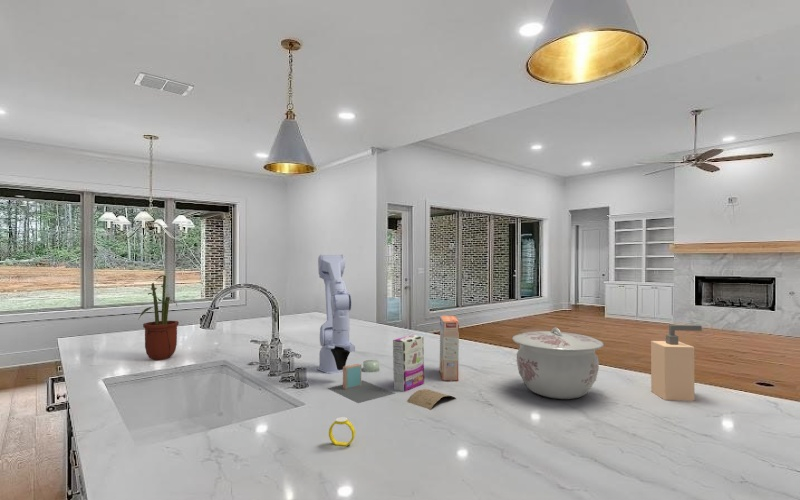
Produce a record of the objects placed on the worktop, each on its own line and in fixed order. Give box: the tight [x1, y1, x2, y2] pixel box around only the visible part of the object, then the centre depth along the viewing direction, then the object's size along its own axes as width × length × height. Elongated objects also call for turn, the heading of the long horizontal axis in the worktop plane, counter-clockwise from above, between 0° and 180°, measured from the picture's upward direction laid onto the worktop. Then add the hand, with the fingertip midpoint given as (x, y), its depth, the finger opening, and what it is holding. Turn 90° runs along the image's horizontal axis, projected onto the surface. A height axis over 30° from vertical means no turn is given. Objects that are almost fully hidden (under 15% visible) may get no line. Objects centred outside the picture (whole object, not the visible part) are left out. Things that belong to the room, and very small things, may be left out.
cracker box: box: [439, 315, 460, 382], centre depth 158 cm, size 14×6×21 cm, turn 179°
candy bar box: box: [392, 334, 425, 393], centre depth 144 cm, size 11×5×16 cm, turn 143°
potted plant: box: [138, 274, 180, 361], centre depth 183 cm, size 17×16×35 cm
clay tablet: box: [406, 388, 456, 411], centre depth 131 cm, size 14×10×3 cm
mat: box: [326, 379, 396, 404], centre depth 139 cm, size 18×14×1 cm
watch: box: [328, 416, 356, 447], centre depth 101 cm, size 6×3×6 cm, turn 79°
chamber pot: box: [511, 327, 605, 400], centre depth 139 cm, size 28×28×21 cm
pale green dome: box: [362, 359, 380, 373], centre depth 164 cm, size 6×6×4 cm
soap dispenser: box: [650, 324, 703, 402], centre depth 135 cm, size 13×9×22 cm
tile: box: [342, 363, 362, 389], centre depth 143 cm, size 2×6×7 cm, turn 130°
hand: (340, 369), depth 148 cm, fingers closed
